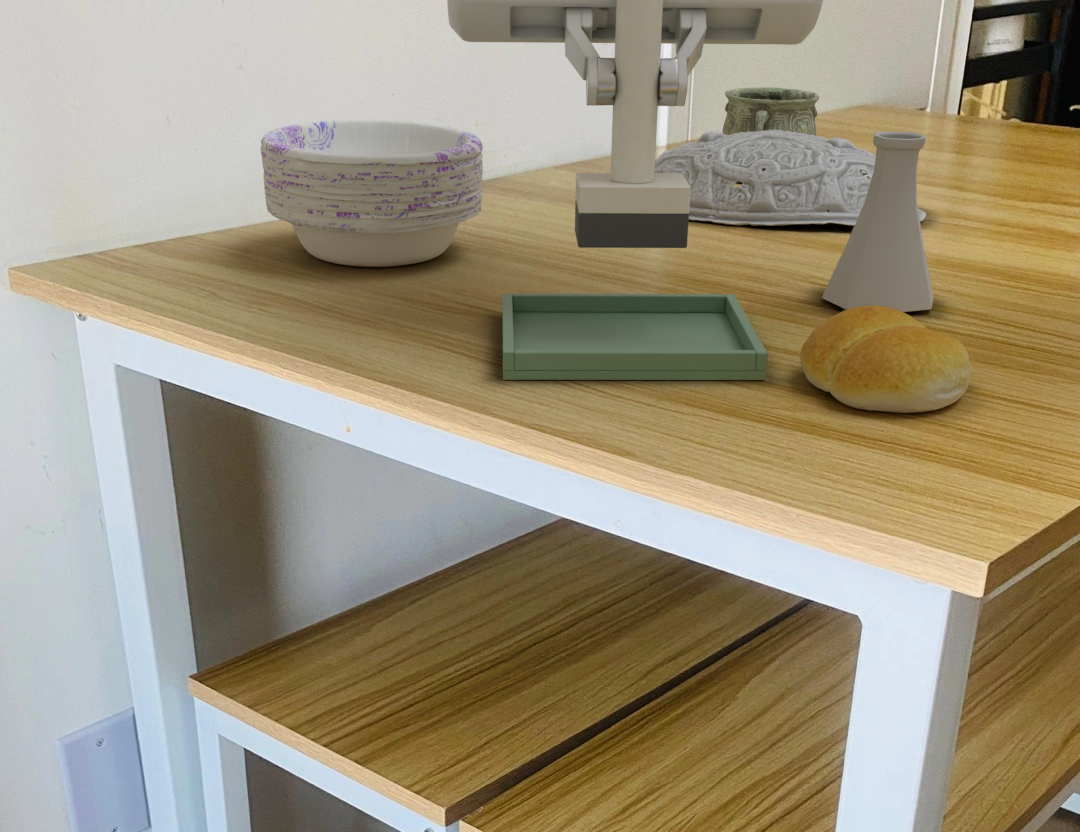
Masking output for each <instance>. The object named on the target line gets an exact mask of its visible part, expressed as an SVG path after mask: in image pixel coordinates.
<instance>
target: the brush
mask: <svg viewBox="0 0 1080 832" xmlns="http://www.w3.org/2000/svg"><path fill="white" fill-rule="evenodd" d="M662 13H663V0H617V3H616V32H615V43H614V58H615V76H616V90H615V96H614V105H612V122H611V126H612V127H611V153H610V172H576V174H575V205H574V206H575V207H574V212H575V213H574V233H575V234H574V235H575V238H576V243H577V247H578V248H581V249H582V248H583V249H585V248H586V249H587V248H588V249H589V248H590V249H591V248H593V249H594V248H597V249H599V248H600V249H601V248H602V249H603V248H605V249H608V248H609V249H687V247H688V236H689V221H690V220H689V207H690V192H691V187H690V186H689V184H688V182H687V181H686V179H685V177H684V176H683V174H682V173H654V172H655V159H656V152H657V151H656V150H657V132H658V129H657V128H658V112H659V106H658V93H659V69H660V58H661V53H662V43H661V33H662Z"/></svg>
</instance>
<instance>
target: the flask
mask: <svg viewBox="0 0 1080 832" xmlns="http://www.w3.org/2000/svg"><path fill="white" fill-rule="evenodd" d="M926 140H927V135H926V134H921V133H917V132H913V131H897V130H892V131H891V130H890V131H876V132H874V134H873V138H872V142H873V146H874V147H876V148H875V149H876V152H875V155H876V159H875V166H874V172H873V176H872V179H871V182H870V186H869V189H868V193H867V196H866V200H865V203H864V205H863V207H862V210H861V212H860V214H859V217H858V219H857V221H856V224H855V226H853V228H852V230H851V233H850V236H849V238H848V240H847V242H846V244H845V247H844V249H843V250H842V253H841V255H840V257H839V259H838V261H837V264H836V266H835V268H834V269H833V272H832V274H831V276H830V278H829V280H828V283H827V285H826V288H825V290H824V291H823V294H822V296H821V299H823V300H826V301H828V302H830V303H832V304H833V305H836V306H838V307H840V308H841V309H844V310H847V309H850V308H854V307H860V306H875V305H877V306H885V307H890V308H893V309H896V310H899V311H901V312H903V313H906V312H917V311H928V310H932V308H933V303H934V291H933V286H932V279H931V276H930V275H931V274H930V269H929V265H928V260H927V254H926V249H925V243H924V238H923V237H924V236H923V231H922V225H921V222H920V218H919V212H918V208H919V206H918V191H917V190H918V181H917V179H918V175H917V174H918V173H917V170H918V163H919V156H920V151H921V150H922V149H923V148H924V147H925V144H926V142H927V141H926Z"/></svg>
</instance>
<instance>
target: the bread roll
mask: <svg viewBox="0 0 1080 832" xmlns="http://www.w3.org/2000/svg"><path fill="white" fill-rule="evenodd" d="M799 361H800V365H801V368H802V371H803V373H804V375H805V377H806V379H807V380H808V382H809V383H811V384H812V385H813V386H814V387H815V388H817V389H819V390H821V391H823V392H826V393H830V394H831V396H832V397H833V398H834V399H836V400H837V401H839V402H840V403H842V404H843V405H846V406H848V407H851V408H854V409H859V410H866V411H871V412H873V411H875V412H888V413H898V414H899V413H900V414H912V413H913V414H915V413H926V412H930V411H932V412H933V411H936V410H940V409H943V408H945V407H948V406H950V405H952V404H954V403H956V402H957V401H958V400H960V398H961V397H962V396H963V395H965V393H966V392H967V390H968V388H969V386H970V383H971V376H972V362H971V360H970V355H969V352H968V350H967V348H966V347H965V345H964V344H963V343H962V342H961V340H959V339H957V338H955V337H952V336H951V335H948V334H946V333H944V332H941V331H937V330H934V329H930V328H927V327H926V326H924V325H923V324H922V323H921V322H920V321H919V320H917V319H916V318H914V317H912V316H911V315H909V314H908V313H906V312H901V311H899V310H896V309H893V308H890V307H885V306H877V305H875V306H860V307H854V308H850V309H844V310H842V311H840V312H838V313H836V314H835V315H833V316H832V317H829V318H828V319H826V320H825V322H823V323H822V324H820V325H818V326H817V327H816V328H815V329H813V330H812V331H811V333H810V334H809V336H807V338H806V339H805V341H804V342H803V344H802V346H801V349H800V352H799Z"/></svg>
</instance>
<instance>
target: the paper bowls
mask: <svg viewBox="0 0 1080 832" xmlns="http://www.w3.org/2000/svg"><path fill="white" fill-rule="evenodd" d="M260 144H261V146H260V156H261V160H262V161H261V163H262V169H263V188H264V196H265V205H266V209H267V212H268V213H270V214H271V216H272V217H274V218H276V219H278V220H280V221H281V220H282V221H284V222H287V223H289V224H291V225H292V228H293V230H294V232H295V234H296V236H297V238H298V240H299V242H300V244H301V246H302V247H303V249H304V250H306V252H307V253H309V254H310V255H311V256H313V257H315V258H316V259H319V260H321V261H324V262H328V263H332V264H337V265H341V266H350V267H361V268H389V267H400V266H406V265H407V266H408V265H414V264H415V265H416V264H418V263H424V262H426V261H430V260H432V259H435V258H437V257H439V256H440V255H443V254H444V253H445V252H446V250H448V248H449V247H450V245H451V244H452V241H453V239H454V237H455V235H456V232H457V230H458V227H459V224H460V223H463V222H465V221H468V220H471V219H472V218H474V217H476V216H478V215H479V214H480V213H481V211H482V204H483V203H482V202H483V192H484V191H483V183H484V182H483V172H484V171H483V168H484V167H483V157H484V155H483V152H482V151H483V148H484V145H483V143H482V141H481V139H480V138H479V137H478V136H477V135H475V134H474V133H471V132H469V131H466V130H463V129H459V128H456V127H451V126H445V125H441V124H434V123H425V122H418V121H417V122H416V121H415V122H414V121H407V120H406V121H405V120H404V121H402V120H390V119H387V120H386V119H336V120H334V119H333V120H320V121H311V122H303V123H296V124H295V123H294V124H290V125H286V126H281V127H277V128H275V129H272V130H270V131H268V132H266V133H265V134H264V135H263V136H262V138H261V141H260Z"/></svg>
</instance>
